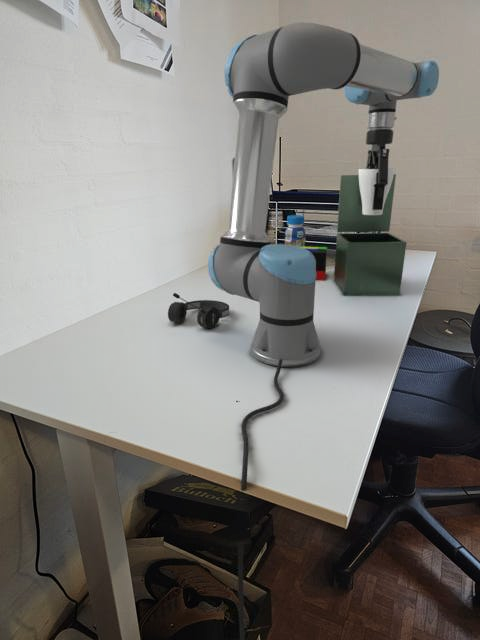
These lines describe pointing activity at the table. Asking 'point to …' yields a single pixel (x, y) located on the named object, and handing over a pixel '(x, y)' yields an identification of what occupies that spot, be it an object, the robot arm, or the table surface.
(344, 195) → the bin lid
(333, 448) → the table surface
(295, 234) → the beverage bottle
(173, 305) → the headset
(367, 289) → the bin
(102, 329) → the table surface
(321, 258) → the puzzle toy
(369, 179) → the cup
